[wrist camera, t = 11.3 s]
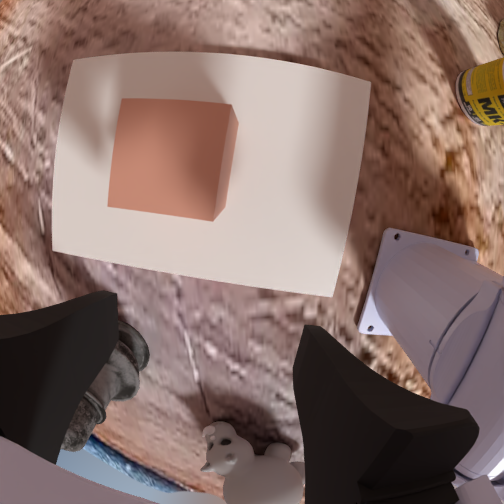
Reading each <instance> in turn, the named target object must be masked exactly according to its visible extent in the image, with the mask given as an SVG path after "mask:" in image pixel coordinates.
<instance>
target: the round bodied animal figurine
mask: <svg viewBox="0 0 504 504" xmlns="http://www.w3.org/2000/svg"><path fill="white" fill-rule="evenodd" d="M204 436H205V437H206V441H207V453H206V460H207V462H206V464H205V465H204V466H203V467H202V468H201V471H203V472H211V471H214V472H215V473H217V474H219V475H222V476H224V477H225V481H224V485H223V495H224V499H225V501H226V503H227V504H299V503H300V501H301V499H302V495H303V485H304V484H305V463H303V462H291V463H289V461H290V458H291V449H290V448H289V446H287V445H286V444H283V443H272V444H270V445H269V446H268V447H267V449H266V451H265V454H264V455H261V456H259V455H256V454H254V451H253V448H252V446H251V445H250V443H249V442H248V441H247V440H245V439H243V438H241V437H239V436H238V435H237V434H236V432H235V429H234V428H233V426H231V425H230V424H229V423H227V422H223V421H218V422H214V423H212V424H211V425H210V426H206V427H205V428H204V429H203V437H204Z"/></svg>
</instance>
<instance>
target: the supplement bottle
mask: <svg viewBox="0 0 504 504" xmlns="http://www.w3.org/2000/svg"><path fill="white" fill-rule="evenodd" d="M456 95H457V99H458V102H459V105H460V107H461V109H462V110H463V112H464V113H465V115H466V116H467V117H468V118H469V119H470V120H471V121H472V122H474V123H475V124H478V125H481V126H490V125H504V57H503V58H500V59H497V60H494V61H491V62H488V63H485V64H482V65H479V66H476V67H473V68H471V69H468V70H465V71H463V72H461V73H460V74H459V76H458V77H457V80H456Z"/></svg>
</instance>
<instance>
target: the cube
mask: <svg viewBox="0 0 504 504" xmlns="http://www.w3.org/2000/svg"><path fill="white" fill-rule="evenodd" d="M238 125H239V122H238V120H237V117H236V114H235V112H234V109H233V107H232V104H223V103H214V102H203V101H191V100H174V99H146V98H122V100H121V105H120V110H119V116H118V121H117V127H116V134H115V140H114V147H113V154H112V162H111V171H110V181H109V192H108V205H107V207H113V208H121V209H128V210H135V211H143V212H150V213H157V214H164V215H171V216H178V217H185V218H192V219H198V220H205V221H212V222H213V221H214V220H215V219H216V218H217V216H218V215H219V214H220V213H221V212H222V211H223V209H224V208H225V206H226V200H227V193H228V187H229V180H230V174H231V167H232V161H233V155H234V149H235V143H236V137H237V131H238Z"/></svg>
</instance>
